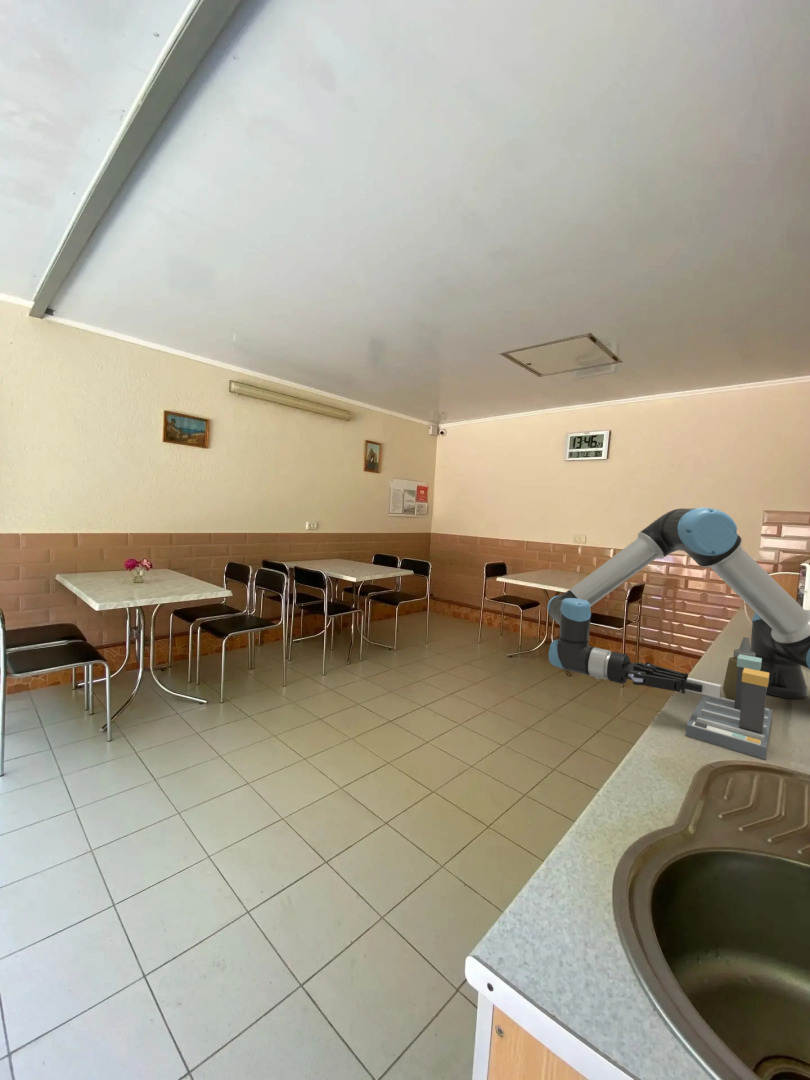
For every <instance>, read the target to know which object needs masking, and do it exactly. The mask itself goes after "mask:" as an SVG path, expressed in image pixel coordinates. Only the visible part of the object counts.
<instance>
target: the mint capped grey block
mask: <svg viewBox="0 0 810 1080" xmlns="http://www.w3.org/2000/svg"><path fill="white" fill-rule="evenodd" d="M761 664H762V658H757V657H752V656H747V655H742V654H739V656H738V658H737V666H738V670H737V682H736V694H735V706H734V709H738V710H741V698H742V686H743V682H742V672H743V670H744V668H748V669H753V670H758V671H760V669H761Z"/></svg>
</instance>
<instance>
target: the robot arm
mask: <svg viewBox="0 0 810 1080" xmlns="http://www.w3.org/2000/svg"><path fill="white" fill-rule="evenodd" d="M737 527H738V526H737V524H736V522H735V521H734V520H733V518H732V517H731V516H730V515H729V514H727V513H726V512H724V511H722V510H719V509H714V508H711V507H698V508H676V509H672V510H670V511H667V512H666V513H664V514H662V515H661V516H660V517H658V518H657V519H656V520H654V521H653V522H651V523H650V524H649V525H648V526H646V527H645V528H643V529H642V530H641V531H639V532H638V534H637V538H636V539H635V540H634V541H632V542H630V544H627V546H626V547H624V548H623V549H622V550H620V551H619V552H617V553H616V554H615V555H614V556H612V557H611V558H610V559H608V560H607V561H606V562H604V563H603V564H602V565H600V566H599V567H598V568H596V569H595V570H593V572H591V573H590V574H589V575H587V576H586V577H584V578H583V579H581V580H580V581H579V582H578V583H577V584H575V585H573V586H572V587H571V588H569V590H566V591H565V592H564V593H563V594H561V595H555V596H553V597H551V598H550V599H549V600H548V602H547V608H546V609H547V612H548V614H549V616H550V617H551V619H552V620H554V622H556V623H557V624H558V625H559V635H558V637H559V638H558V639H557V638H556V639H554V640H553V641H551V643H550V645H549V650H548V661H549V663H550V664H551V665H552V666H553V667H557V668H560V669H561V670H562V669H563V670H565V671H569V672H574V673H578V674H582V675H586V676H590V677H595V679H596V680H600V679H602V680H607V679H608V680H609V682H613V683H618V684H620V685H624V684H626V682H627V681H628V680H631V681H632V684H633V685H635V686H645V687H648V688H649V687H650V688H656V689H660V690H661V689H662V690H667V691H671V692H672V691H673V692H678V693H680V692H681V695H682V694H686V691H687V692H690V693H695V694H700V695H702V696H703V695H707V696H711V697H715V698H720V697H721V694H722V693H721V691H722V684H720V683H714V682H709V681H705V680H702V679H697V678H693V677H689V673H687V672H685V673H684V672H679V671H676V670H672V669H670V668H666V667H662V666H658V665H655V664H652V663H650V662H647V661H646V662H645V664H644V663H642V662H636V663H635V662H632V661H630V655H628V654H626V653H623V652H619V651H618V652H617V651H613V652H612V651H611V650H609V649H604V648H600V647H594V646H590V645H589V642H590V641H589V640H590V639H589V638H590V626H591V617H592V612H591V607H592V606H595V604H597V603H598V602H600V600H602V599H603V598H604V597H606V596H607V595H609V594H610V593H611V592H613V591H614V590H615V589H617V588H618V587H619V586H621V585H622V584H624V583H625V582H627V581H628V580H629V579H630V578H632V577H633V576H635V575H637V574H638V573H639V571H641V570H643V569H645V567H647V566H648V565H650V564H651V563H652V562H654V561H655V560H656V559H660V560H662V559H664V558H665V557H667V556H668V555H669V554H671V553H674V552H677V551H681V552H682V551H683V552H685V553H686V554H687V555H688V556H689V557H690V558H691V559H692V560H693V561H694V562H695V563H696V564H697V565H698V566H699V567H700V568H710V569H711V570H712V572H714V573H715V574H716V575H717V576H718V577H719V578H720V579H721V580H722V581H723V582H724V583H725V584H726V585H727V586H728V587H729V588H730V589H731V590H732V591H733V592H734V593H735V594H737V596H738V597H739V598H740V599H741V601H742V600H743V602H744V603H745V604H746V605H747V606H748V607H749V608H750V609H751V610H752V611H753V616H752V620H751V624H752V625H751V627H752V628H751V637H750V638H751V639H750V649H751V652H754V653H755V654H756V657H757V658H762V664H761V669H760V671H763V672H768V673H769V683H768V687H767V694H766V695H769V694H770V696H773V695H774V697H778V696H779V698H785V699H804V698H806V697H808V685H807V684H806V680H805V675H804V672H803V669H802V666H803V667H804V668H807V669H809V670H810V609H804V607H803V606H801V604H800V603H799V602H797V600H796V599H794V598H793V597H792V596H791V594H789V592H787V591H786V590H785V589H784V588H783V587H782V586H781V585H780V584H779V583H778V582H777V581H776V580H775V579H774V578H773V577H772V576H771V575H770V574H769V573H768V572H767V571H766V570H765V569H764V568H763V567H762V566H761V565H760V564H759V563H758V562H757V561H756V560H755V559H754V558H753V557H752V556H751V555H750V554H749V553H748V552H747V551H746V550H745V549H744V548H743V547H742V543H743V539H742V537H741V536H740V535H739V534H738V533H737V531H738V528H737Z"/></svg>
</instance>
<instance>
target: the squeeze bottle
mask: <svg viewBox="0 0 810 1080" xmlns="http://www.w3.org/2000/svg"><path fill="white" fill-rule="evenodd" d="M750 648H751V642H750V638H749V637H742V640H741V643H740V646H739V648H738V649H733V656H732V657H730V658H728V661H727V667H726V671H725V678H724V681H723V685H722V691H723V694H724V697H725V698H726V699H730V700H734V701H735V694H736V682H737V670H738V666H737V658H738V656H739V654H742V655H747V656H752V657H756V654H755V653H754V652H751V649H750Z"/></svg>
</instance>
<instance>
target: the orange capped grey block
mask: <svg viewBox="0 0 810 1080" xmlns="http://www.w3.org/2000/svg"><path fill="white" fill-rule="evenodd" d="M742 682H743V686H742V698H741V710H740V722H739V728H740V729H743V730H747V731H751V732H754V733H758V734H762V735H763V727H764V716H765V708H766V705H767V702H766V701H767V694H766V693H767V687H768V683H769V673H768V672H763V671H758V670H753V669H748V668H744V670H743V672H742Z"/></svg>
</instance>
